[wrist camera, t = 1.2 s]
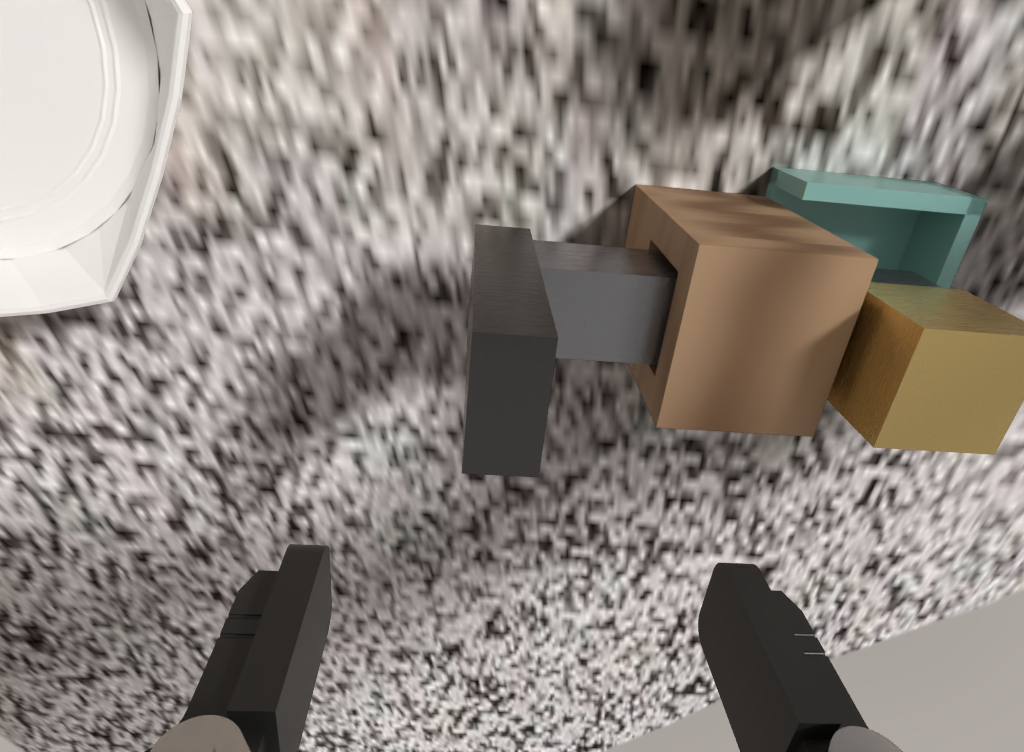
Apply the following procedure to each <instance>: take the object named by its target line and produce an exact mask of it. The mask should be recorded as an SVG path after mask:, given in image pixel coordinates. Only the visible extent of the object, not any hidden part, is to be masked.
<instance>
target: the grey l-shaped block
mask: <svg viewBox="0 0 1024 752" xmlns="http://www.w3.org/2000/svg"><path fill="white" fill-rule="evenodd" d="M677 277H678V271H677V270H676V268H675V267H674V266H673V265H672V264H671V263H670V261H669V260H668V259H667V258H666V257H665V255H664V254H663V253H662V252H661V251H660V250H647V249H635V248H623V247H611V246H599V245H587V244H575V243H563V242H550V241H538V240H533V239H532V235H531V231H530V229H525V228H513V227H501V226H489V225H477V224H475V232H474V246H473V261H472V275H471V289H470V304H469V318H468V337H467V361H466V385H465V409H464V433H463V457H462V473H465V474H485V475H504V476H524V477H539V471H540V463H541V456H542V449H543V442H544V435H545V428H546V421H547V414H548V407H549V400H550V393H551V386H552V379H553V372H554V365H555V358H562V359H577V360H592V361H607V362H622V363H637V364H652V365H658V361H659V357H660V352H661V348H662V343H663V339H664V334H665V330H666V326H667V321H668V317H669V312H670V308H671V303H672V299H673V294H674V290H675V286H676V281H677ZM871 282H875V283H888V284H900V285H913V286H925V287H937V288H943V287H941V286H939V285H938V284H936V283H934V282H932V281H930V280H928V279H926V278H925V277H923V276H921V275H919V274H917V273H915V272H913V271H902V270H890V269H878V268H876V269H875V271H874V274H873V277H872V280H871Z"/></svg>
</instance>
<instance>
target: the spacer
mask: <svg viewBox="0 0 1024 752" xmlns="http://www.w3.org/2000/svg"><path fill="white" fill-rule="evenodd" d="M827 400H828V401H829V402H830V403H831V404H832V405H833V406H834V407H835V408H836V409H837V410H838V411H839V412H840V413H841V414H842V415H843V416H844V417H845V418H846V420H847V421H848V422H849V423H850V424H851V425H852V426H853V427H854V428H855V429H856V430H857V431H858V432H859V433H860V434H861V435H862V436H863V437H864V438H865V439H866V440H867V441H868V442H869V443H870V444H871V446H872V447H873V448H890V449H907V450H924V451H942V452H959V453H976V454H993V455H995V453H996V451H997V449H998V447H999V445H1000V443H1001V441H1002V440H1003V438H1004V436H1005V434H1006V432H1007V430H1008V428H1009V427H1010V425H1011V423H1012V421H1013V419H1014V417H1015V415H1016V413H1017V412H1018V410H1019V408H1020V406H1021V404H1022V402H1023V400H1024V321H1022V320H1020V319H1019V318H1017V317H1015V316H1013V315H1011V314H1009V313H1007V312H1005V311H1003V310H1001V309H999V308H997V307H996V306H994V305H992V304H990V303H988V302H986V301H984V300H982V299H980V298H978V297H976V296H974V295H972V294H971V293H969V292H967V291H965V290H962V289H950V288H937V287H925V286H913V285H900V284H888V283H875V282H870V285H869V288H868V290H867V293H866V296H865V298H864V301H863V304H862V306H861V309H860V312H859V315H858V317H857V320H856V323H855V325H854V328H853V331H852V333H851V336H850V339H849V341H848V344H847V347H846V349H845V352H844V355H843V358H842V360H841V363H840V366H839V368H838V371H837V374H836V376H835V379H834V382H833V384H832V387H831V390H830V393H829V395H828V398H827Z"/></svg>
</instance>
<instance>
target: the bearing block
mask: <svg viewBox="0 0 1024 752" xmlns="http://www.w3.org/2000/svg"><path fill="white" fill-rule="evenodd" d="M624 248H635V249H647V250H660V251H661V252H662V253H663V254H664V255H665V257H666V258H667V259H668V260H669V261H670V263H671V264H672V265H673V266H674V267H675V268H676V270H677V271H678V277H677V281H676V286H675V290H674V294H673V299H672V303H671V308H670V312H669V317H668V321H667V326H666V330H665V334H664V339H663V343H662V348H661V352H660V357H659V361H658V365H652V364H637V363H628V366H629V368H630V370H631V372H632V374H633V377H634V379H635V381H636V383H637V385H638V388H639V390H640V392H641V394H642V396H643V399H644V401H645V403H646V405H647V408H648V410H649V412H650V414H651V416H652V419H653V421H654V423H655V425H656V427H657V428H674V429H691V430H708V431H725V432H742V433H759V434H776V435H793V436H810V437H813V436H814V433H815V430H816V428H817V425H818V422H819V419H820V417H821V414H822V411H823V409H824V406H825V403H826V401H827V398H828V395H829V393H830V390H831V387H832V384H833V382H834V379H835V376H836V374H837V371H838V368H839V366H840V363H841V360H842V358H843V355H844V352H845V349H846V347H847V344H848V341H849V339H850V336H851V333H852V331H853V328H854V325H855V323H856V320H857V317H858V315H859V312H860V309H861V306H862V304H863V301H864V298H865V296H866V293H867V290H868V288H869V285H870V282H871V280H872V277H873V274H874V271H875V269H876V266H877V263H878V261H879V259H877V258H875V257H873V256H872V255H870V254H868V253H866V252H864V251H863V250H861V249H859V248H857V247H855V246H854V245H852V244H850V243H848V242H846V241H845V240H843V239H841V238H839V237H837V236H836V235H834V234H832V233H830V232H828V231H827V230H825V229H823V228H821V227H819V226H818V225H816V224H814V223H812V222H810V221H809V220H807V219H805V218H803V217H801V216H800V215H798V214H796V213H794V212H792V211H791V210H789V209H787V208H785V207H783V206H782V205H780V204H778V203H776V202H774V201H773V200H771V199H769V198H767V197H765V196H757V195H746V194H735V193H724V192H713V191H702V190H691V189H680V188H669V187H658V186H647V185H636V186H635V192H634V197H633V203H632V208H631V214H630V219H629V225H628V230H627V236H626V241H625V247H624Z"/></svg>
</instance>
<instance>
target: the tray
mask: <svg viewBox="0 0 1024 752" xmlns="http://www.w3.org/2000/svg"><path fill="white" fill-rule="evenodd" d="M765 197H767V198H769V199H771V200H773V201H774V202H776V203H778V204H780V205H782V206H783V207H785V208H787V209H789V210H791V211H792V212H794V213H796V214H798V215H800V216H801V217H803V218H805V219H807V220H809V221H810V222H812V223H814V224H816V225H818V226H819V227H821V228H823V229H825V230H827V231H828V232H830V233H832V234H834V235H836V236H837V237H839V238H841V239H843V240H845V241H846V242H848V243H850V244H852V245H854V246H855V247H857V248H859V249H861V250H863V251H864V252H866V253H868V254H870V255H872V256H873V257H875V258H877V259H879V261H878V263H877V266H876V268H878V269H890V270H902V271H913V272H915V273H917V274H919V275H921V276H923V277H925V278H926V279H928V280H930V281H932V282H934V283H936V284H938V285H939V286H941V287H943V288H950V286H951V284H952V282H953V279H954V277H955V275H956V272H957V270H958V268H959V266H960V263H961V261H962V259H963V256H964V254H965V252H966V249H967V247H968V245H969V243H970V240H971V238H972V236H973V233H974V231H975V229H976V226H977V224H978V222H979V219H980V217H981V215H982V213H983V210H984V208H985V206H986V203H987V201H988V199H986V198H983V197H980V196H977V195H973V194H970V193H967V192H964V191H961V190H958V189H955V188H951V187H948V186H945V185H942V184H939V183H936V182H925V181H915V180H904V179H894V178H883V177H873V176H862V175H852V174H841V173H831V172H820V171H810V170H799V169H789V168H778V167H773V168H772V172H771V176H770V179H769V183H768V187H767V190H766V194H765Z"/></svg>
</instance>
